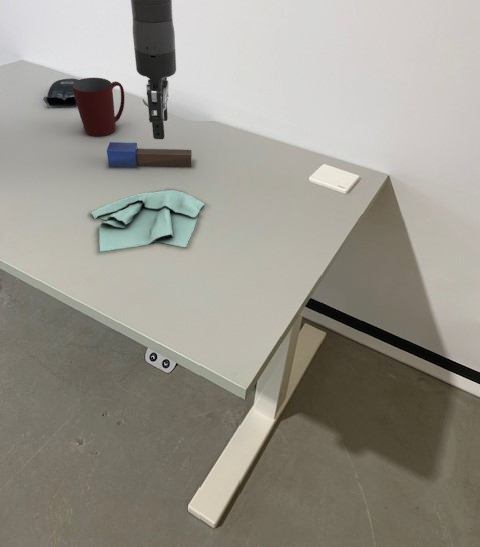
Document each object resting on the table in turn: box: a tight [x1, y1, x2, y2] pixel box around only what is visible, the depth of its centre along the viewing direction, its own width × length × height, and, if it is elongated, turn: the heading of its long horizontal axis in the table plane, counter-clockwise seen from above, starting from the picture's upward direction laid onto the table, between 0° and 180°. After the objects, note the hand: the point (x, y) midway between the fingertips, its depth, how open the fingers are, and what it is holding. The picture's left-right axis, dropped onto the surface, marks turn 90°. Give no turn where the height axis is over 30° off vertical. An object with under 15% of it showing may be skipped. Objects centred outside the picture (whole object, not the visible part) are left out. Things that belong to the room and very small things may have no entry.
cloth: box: [91, 189, 206, 253], centre depth 79 cm, size 20×22×2 cm
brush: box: [106, 141, 193, 169], centre depth 93 cm, size 4×18×4 cm, turn 93°
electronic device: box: [43, 77, 79, 108], centre depth 117 cm, size 9×6×15 cm
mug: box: [72, 77, 125, 137], centre depth 102 cm, size 12×9×11 cm
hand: (160, 129), depth 89 cm, fingers open, 8 cm apart
